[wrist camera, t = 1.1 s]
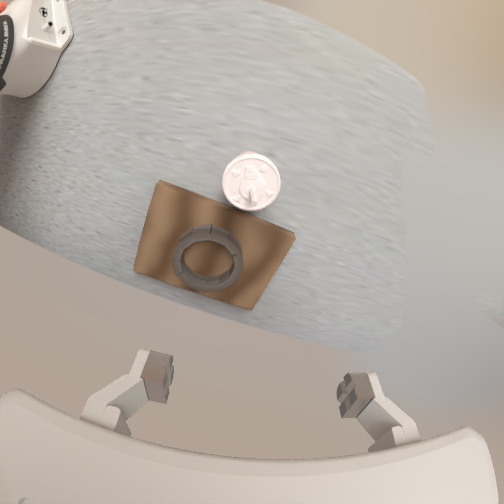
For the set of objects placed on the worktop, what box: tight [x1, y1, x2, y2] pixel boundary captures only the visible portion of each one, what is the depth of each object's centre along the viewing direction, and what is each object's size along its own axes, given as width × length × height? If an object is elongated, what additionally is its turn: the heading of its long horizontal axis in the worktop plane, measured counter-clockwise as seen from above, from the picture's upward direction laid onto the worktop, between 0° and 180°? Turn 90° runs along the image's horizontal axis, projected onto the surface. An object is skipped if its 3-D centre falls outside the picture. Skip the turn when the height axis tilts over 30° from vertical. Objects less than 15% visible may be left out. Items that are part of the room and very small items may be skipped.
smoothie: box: [222, 151, 281, 211], centre depth 31 cm, size 6×6×14 cm
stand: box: [133, 180, 296, 310], centre depth 42 cm, size 22×16×4 cm
